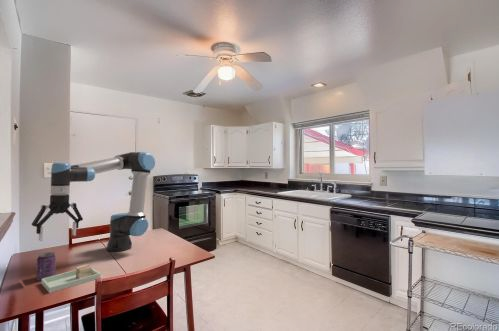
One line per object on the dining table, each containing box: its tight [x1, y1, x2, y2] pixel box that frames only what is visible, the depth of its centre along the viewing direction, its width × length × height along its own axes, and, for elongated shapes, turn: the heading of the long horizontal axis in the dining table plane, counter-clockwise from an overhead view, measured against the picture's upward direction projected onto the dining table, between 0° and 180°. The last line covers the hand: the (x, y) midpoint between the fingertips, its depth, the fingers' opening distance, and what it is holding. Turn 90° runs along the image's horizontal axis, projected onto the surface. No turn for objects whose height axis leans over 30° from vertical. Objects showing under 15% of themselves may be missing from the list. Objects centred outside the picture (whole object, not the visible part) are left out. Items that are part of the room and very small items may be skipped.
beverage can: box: [36, 251, 57, 282], centre depth 123 cm, size 7×7×12 cm
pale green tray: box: [40, 267, 101, 294], centre depth 121 cm, size 13×20×3 cm, turn 141°
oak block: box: [75, 263, 93, 279], centre depth 125 cm, size 5×5×5 cm
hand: (58, 237), depth 125 cm, fingers open, 13 cm apart
